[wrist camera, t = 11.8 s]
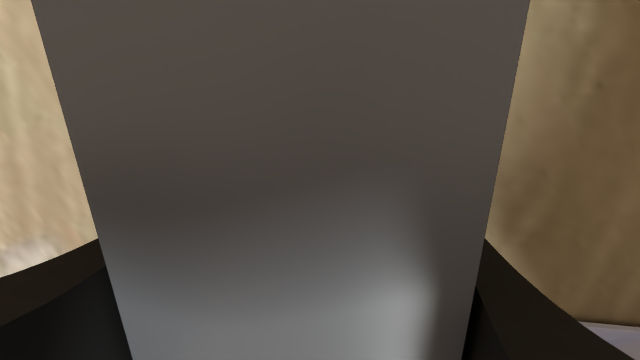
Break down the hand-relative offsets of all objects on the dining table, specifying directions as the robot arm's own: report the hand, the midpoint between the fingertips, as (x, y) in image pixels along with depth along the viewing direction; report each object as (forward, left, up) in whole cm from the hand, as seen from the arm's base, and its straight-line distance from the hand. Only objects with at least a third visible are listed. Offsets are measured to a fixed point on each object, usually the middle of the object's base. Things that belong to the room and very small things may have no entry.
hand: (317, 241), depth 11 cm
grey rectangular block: (0, 0, -2) cm, 2 cm away
